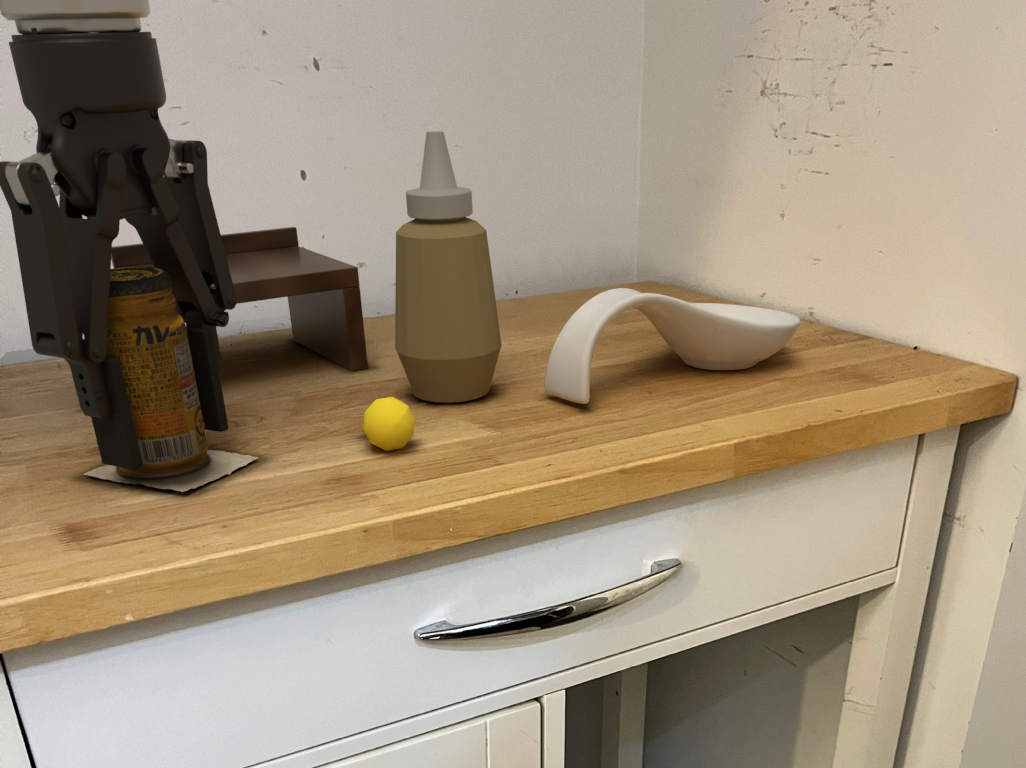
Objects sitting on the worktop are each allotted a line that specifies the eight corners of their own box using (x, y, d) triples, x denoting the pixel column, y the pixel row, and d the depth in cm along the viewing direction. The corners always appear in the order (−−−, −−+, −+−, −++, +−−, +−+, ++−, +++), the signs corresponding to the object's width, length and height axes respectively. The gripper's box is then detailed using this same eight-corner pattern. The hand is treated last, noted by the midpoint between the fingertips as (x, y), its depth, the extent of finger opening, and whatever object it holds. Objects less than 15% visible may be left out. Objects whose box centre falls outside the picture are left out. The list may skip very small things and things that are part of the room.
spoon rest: (718, 337, 98) (724, 251, 94) (825, 361, 91) (835, 269, 87) (515, 389, 85) (512, 292, 82) (619, 422, 78) (621, 318, 74)
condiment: (163, 443, 76) (123, 259, 69) (259, 460, 73) (228, 268, 66) (83, 477, 70) (32, 281, 64) (183, 497, 67) (141, 292, 61)
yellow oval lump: (388, 460, 72) (362, 410, 70) (363, 459, 77) (338, 412, 76) (430, 436, 73) (406, 386, 71) (403, 437, 78) (379, 390, 77)
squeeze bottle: (418, 415, 80) (395, 139, 70) (386, 387, 86) (361, 131, 77) (519, 400, 83) (511, 132, 73) (481, 374, 89) (469, 124, 79)
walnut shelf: (180, 401, 84) (154, 271, 79) (134, 365, 94) (108, 247, 89) (368, 368, 92) (356, 246, 86) (308, 338, 101) (294, 226, 96)
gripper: (-31, 28, 49) (91, 507, 62) (258, 23, 64) (310, 410, 77) (-138, 31, 52) (-1, 488, 65) (162, 25, 67) (227, 397, 80)
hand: (167, 445), depth 71 cm, fingers open, 7 cm apart
